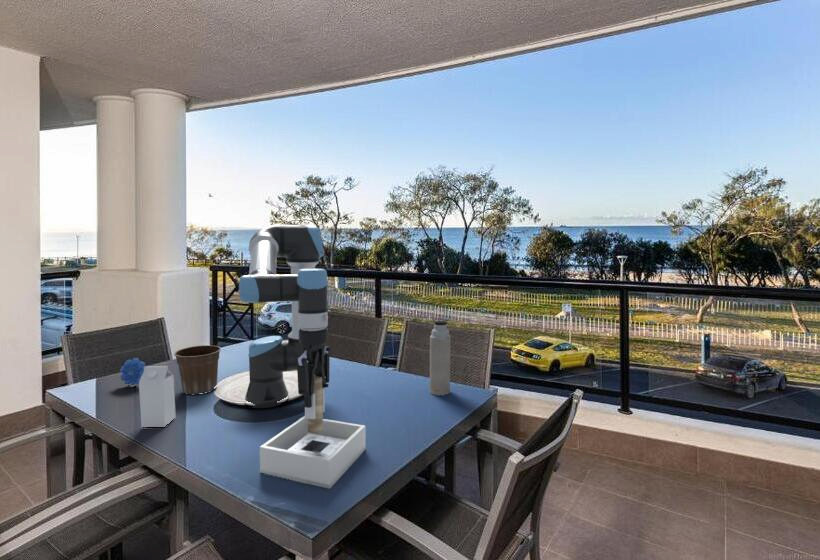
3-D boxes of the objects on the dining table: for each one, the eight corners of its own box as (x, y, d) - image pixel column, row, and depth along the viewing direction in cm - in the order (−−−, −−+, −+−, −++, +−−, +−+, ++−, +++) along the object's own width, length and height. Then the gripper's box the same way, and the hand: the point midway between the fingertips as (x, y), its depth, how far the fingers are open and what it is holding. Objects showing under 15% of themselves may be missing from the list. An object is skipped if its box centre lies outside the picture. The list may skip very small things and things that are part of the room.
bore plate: (283, 464, 108) (283, 453, 108) (308, 443, 119) (308, 433, 119) (323, 472, 104) (323, 461, 104) (346, 450, 115) (346, 439, 115)
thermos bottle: (425, 392, 162) (426, 322, 160) (436, 386, 169) (436, 318, 166) (443, 397, 158) (444, 324, 155) (453, 391, 164) (454, 321, 162)
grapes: (155, 384, 171) (153, 355, 170) (142, 389, 165) (140, 360, 164) (130, 382, 173) (128, 354, 172) (116, 388, 166) (114, 359, 165)
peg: (304, 431, 110) (303, 379, 108) (312, 425, 113) (311, 375, 112) (317, 433, 108) (316, 381, 107) (325, 427, 112) (324, 376, 111)
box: (260, 473, 106) (259, 446, 105) (304, 438, 124) (304, 415, 124) (329, 488, 99) (329, 460, 98) (365, 449, 118) (365, 425, 117)
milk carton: (153, 419, 137) (150, 363, 136) (175, 418, 138) (173, 362, 136) (141, 429, 130) (137, 370, 129) (165, 428, 131) (162, 369, 129)
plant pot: (199, 400, 154) (197, 357, 153) (166, 395, 159) (164, 353, 158) (231, 385, 170) (229, 347, 168) (200, 381, 175) (198, 343, 173)
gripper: (307, 335, 99) (309, 430, 101) (341, 323, 115) (343, 404, 117) (281, 333, 102) (283, 425, 104) (318, 321, 118) (319, 401, 120)
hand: (315, 414), depth 110 cm, fingers closed on peg, 4 cm apart
